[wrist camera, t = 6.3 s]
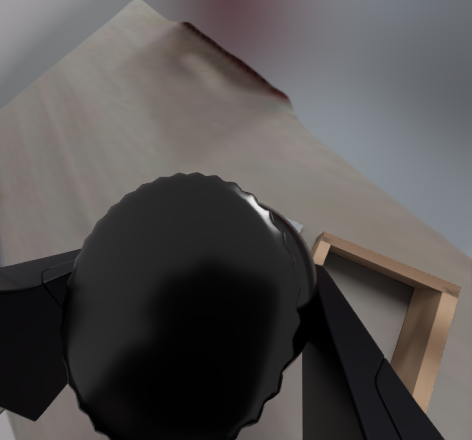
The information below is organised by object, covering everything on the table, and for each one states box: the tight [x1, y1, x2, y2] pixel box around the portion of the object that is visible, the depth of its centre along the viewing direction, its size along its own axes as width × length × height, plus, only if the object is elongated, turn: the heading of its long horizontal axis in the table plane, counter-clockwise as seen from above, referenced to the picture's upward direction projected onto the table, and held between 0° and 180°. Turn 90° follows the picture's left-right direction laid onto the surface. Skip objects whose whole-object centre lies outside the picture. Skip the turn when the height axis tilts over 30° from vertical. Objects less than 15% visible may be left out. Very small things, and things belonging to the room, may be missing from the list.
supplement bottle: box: [60, 172, 319, 440], centre depth 9 cm, size 7×7×12 cm
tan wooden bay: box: [311, 232, 461, 414], centre depth 16 cm, size 10×11×3 cm
